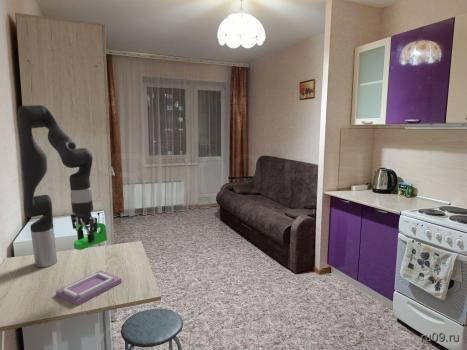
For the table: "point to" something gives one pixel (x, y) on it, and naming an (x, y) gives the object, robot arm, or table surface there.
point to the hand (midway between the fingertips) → (86, 240)
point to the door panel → (88, 287)
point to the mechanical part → (98, 238)
